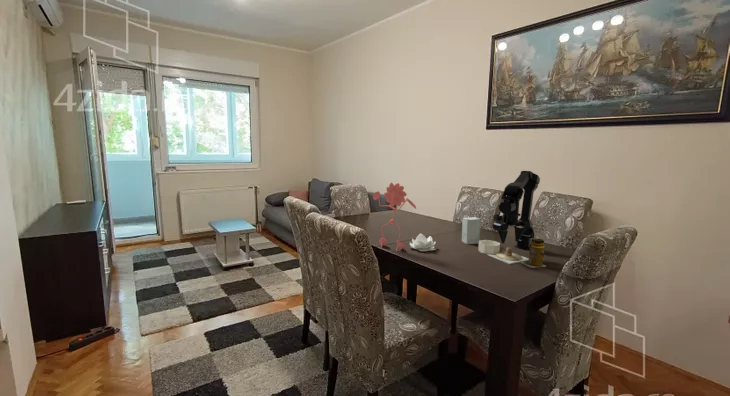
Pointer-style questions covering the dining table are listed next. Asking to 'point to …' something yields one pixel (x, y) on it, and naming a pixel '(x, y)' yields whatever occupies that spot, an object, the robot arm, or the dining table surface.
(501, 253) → the lid
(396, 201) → the figurine
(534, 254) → the condiment
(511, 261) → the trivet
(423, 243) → the lotus flower
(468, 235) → the skincare box
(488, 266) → the dining table surface
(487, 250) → the bowl
